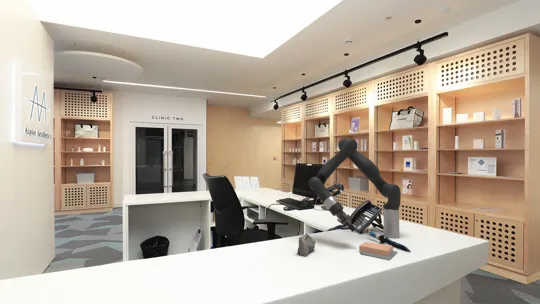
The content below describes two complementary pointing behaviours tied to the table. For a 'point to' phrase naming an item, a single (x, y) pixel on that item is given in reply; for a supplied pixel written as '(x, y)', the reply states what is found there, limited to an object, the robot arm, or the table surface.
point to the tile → (376, 249)
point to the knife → (387, 241)
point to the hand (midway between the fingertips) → (354, 230)
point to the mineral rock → (305, 245)
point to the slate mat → (380, 256)
